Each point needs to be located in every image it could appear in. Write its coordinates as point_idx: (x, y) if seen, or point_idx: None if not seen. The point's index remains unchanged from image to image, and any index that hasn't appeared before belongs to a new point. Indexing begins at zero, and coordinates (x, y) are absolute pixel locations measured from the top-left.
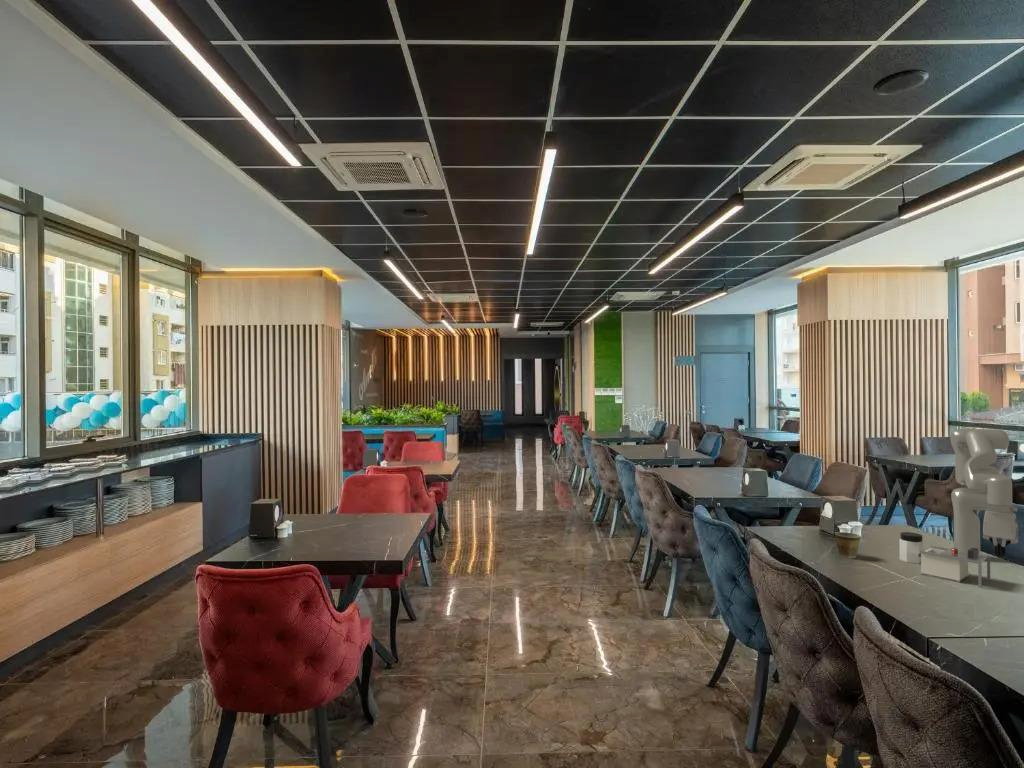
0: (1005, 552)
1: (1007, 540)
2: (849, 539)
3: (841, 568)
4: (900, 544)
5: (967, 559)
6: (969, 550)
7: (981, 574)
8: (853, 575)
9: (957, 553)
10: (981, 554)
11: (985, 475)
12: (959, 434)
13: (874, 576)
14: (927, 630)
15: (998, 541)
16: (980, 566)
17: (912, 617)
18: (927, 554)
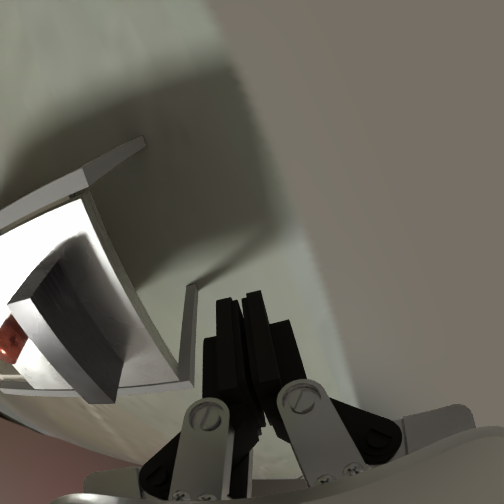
0: (292, 334)
1: (355, 455)
2: None
3: (12, 400)
4: None
5: (134, 393)
6: (92, 400)
7: (192, 324)
8: (54, 421)
9: (24, 335)
10: (36, 195)
11: None
12: None
13: (57, 406)
14: (288, 475)
15: (232, 449)
16: (193, 367)
17: (256, 473)
18: (13, 379)
